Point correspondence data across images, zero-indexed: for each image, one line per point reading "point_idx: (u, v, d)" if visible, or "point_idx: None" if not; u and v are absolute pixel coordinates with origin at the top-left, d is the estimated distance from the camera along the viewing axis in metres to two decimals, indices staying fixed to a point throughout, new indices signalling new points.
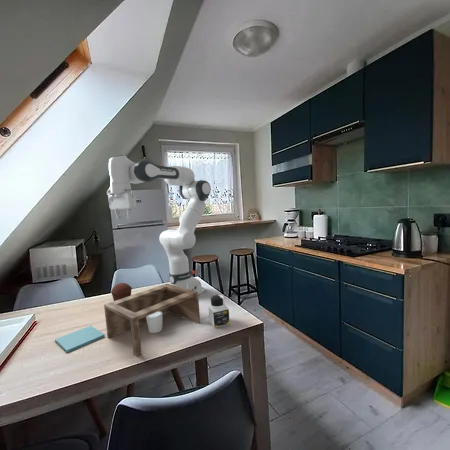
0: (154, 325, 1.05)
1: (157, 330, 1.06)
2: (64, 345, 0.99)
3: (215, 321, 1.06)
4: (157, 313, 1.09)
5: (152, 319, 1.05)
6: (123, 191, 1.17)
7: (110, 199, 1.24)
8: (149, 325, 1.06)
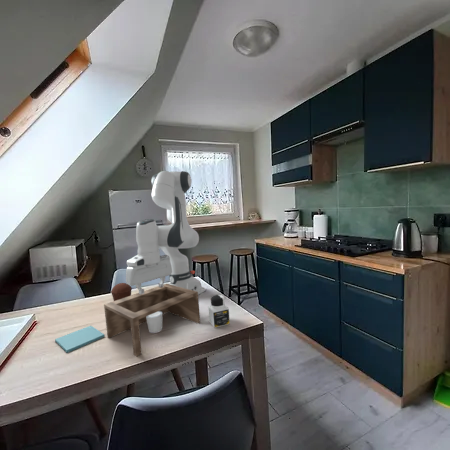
0: (154, 325, 1.05)
1: (157, 330, 1.06)
2: (64, 345, 0.99)
3: (215, 321, 1.06)
4: (157, 313, 1.09)
5: (152, 319, 1.05)
6: None
7: (135, 272, 0.99)
8: (149, 325, 1.06)
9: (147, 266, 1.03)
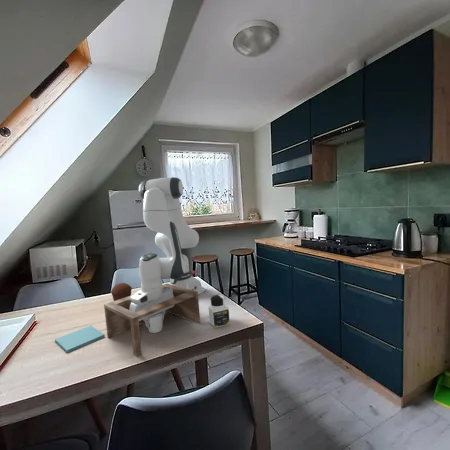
0: (154, 325, 1.05)
1: (157, 330, 1.06)
2: (64, 345, 0.99)
3: (215, 321, 1.06)
4: (157, 313, 1.09)
5: (152, 319, 1.05)
6: None
7: (139, 308, 1.01)
8: None
9: (150, 301, 1.04)
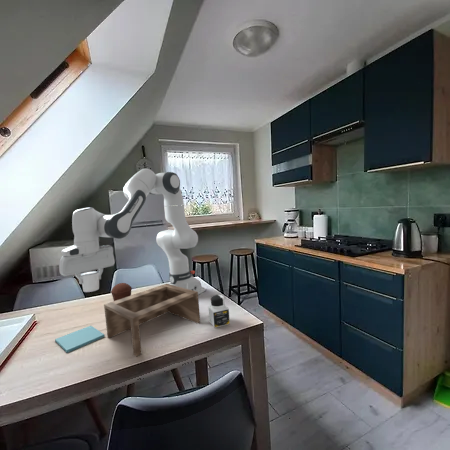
0: (88, 283, 1.00)
1: (92, 289, 1.01)
2: (64, 345, 0.99)
3: (215, 321, 1.06)
4: (93, 272, 1.03)
5: (86, 277, 1.00)
6: None
7: (68, 261, 0.95)
8: (83, 284, 1.00)
9: (83, 256, 0.99)
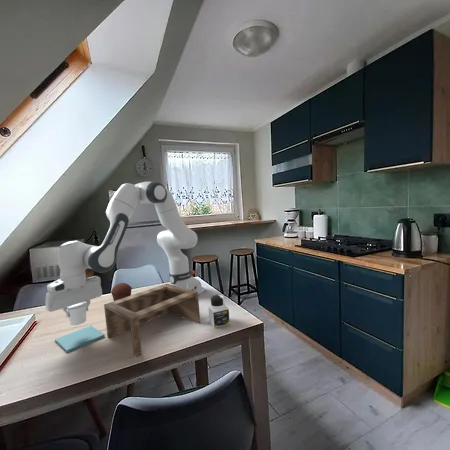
0: (75, 317, 1.01)
1: (78, 322, 1.01)
2: (64, 345, 0.99)
3: (215, 321, 1.06)
4: (80, 305, 1.04)
5: (72, 311, 1.00)
6: (86, 281, 1.05)
7: (54, 297, 0.96)
8: (70, 317, 1.01)
9: (69, 290, 1.00)
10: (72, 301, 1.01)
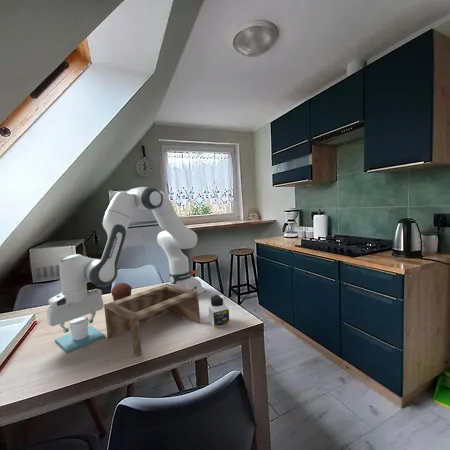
0: (77, 332, 1.01)
1: (80, 337, 1.02)
2: (64, 345, 0.99)
3: (215, 321, 1.06)
4: (82, 319, 1.05)
5: (74, 326, 1.01)
6: None
7: (56, 312, 0.96)
8: (72, 332, 1.02)
9: (71, 304, 1.00)
10: (73, 315, 1.01)
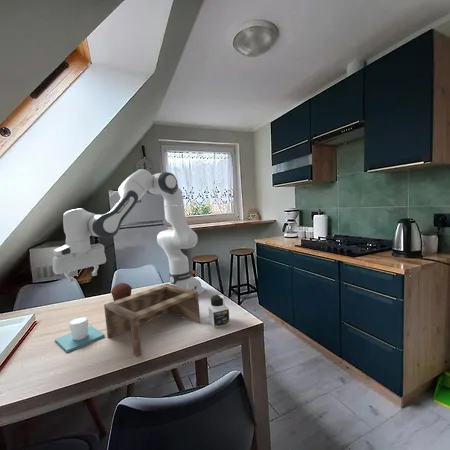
0: (77, 332, 1.01)
1: (80, 337, 1.02)
2: (64, 345, 0.99)
3: (215, 321, 1.06)
4: (82, 319, 1.05)
5: (74, 326, 1.01)
6: (90, 247, 1.10)
7: (61, 261, 1.00)
8: (72, 332, 1.02)
9: (75, 255, 1.04)
10: (78, 266, 1.05)
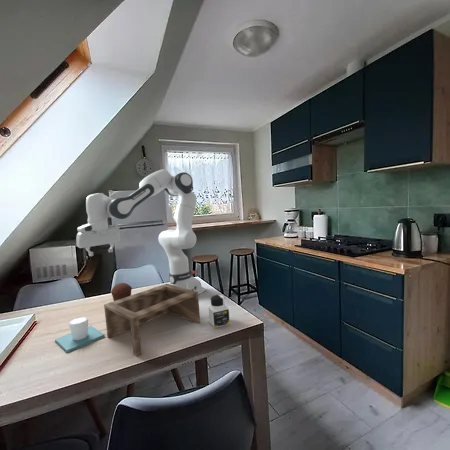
0: (77, 332, 1.01)
1: (80, 337, 1.02)
2: (64, 345, 0.99)
3: (215, 321, 1.06)
4: (82, 319, 1.05)
5: (74, 326, 1.01)
6: None
7: (84, 236, 1.18)
8: (72, 332, 1.02)
9: (95, 232, 1.21)
10: (97, 242, 1.22)
